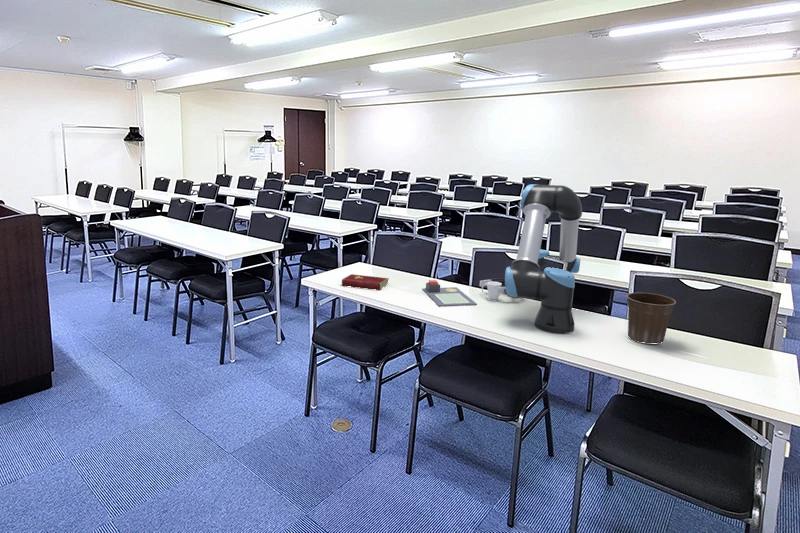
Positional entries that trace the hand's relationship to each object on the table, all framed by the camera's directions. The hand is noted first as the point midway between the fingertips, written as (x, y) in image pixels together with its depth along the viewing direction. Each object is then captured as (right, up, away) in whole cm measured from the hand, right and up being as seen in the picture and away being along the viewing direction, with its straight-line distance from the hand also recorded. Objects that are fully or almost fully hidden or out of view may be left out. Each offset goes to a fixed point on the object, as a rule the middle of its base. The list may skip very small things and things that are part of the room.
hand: (488, 287), depth 224 cm
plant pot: (+51, -18, -44) cm, 70 cm away
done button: (-25, 0, +10) cm, 27 cm away
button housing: (-26, -3, +11) cm, 28 cm away
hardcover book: (-59, -1, +19) cm, 62 cm away
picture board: (-19, -5, +3) cm, 20 cm away
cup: (+1, -6, +2) cm, 6 cm away
